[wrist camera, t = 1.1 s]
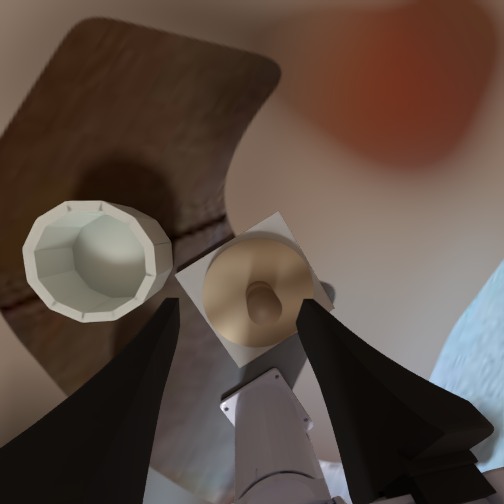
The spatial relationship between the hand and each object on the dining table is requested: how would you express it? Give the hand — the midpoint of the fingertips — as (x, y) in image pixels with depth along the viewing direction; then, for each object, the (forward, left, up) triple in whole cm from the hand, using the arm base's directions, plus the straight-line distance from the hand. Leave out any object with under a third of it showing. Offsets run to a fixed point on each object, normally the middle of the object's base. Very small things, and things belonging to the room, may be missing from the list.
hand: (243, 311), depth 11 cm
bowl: (+8, +9, -11) cm, 16 cm away
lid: (-3, -1, -10) cm, 10 cm away
